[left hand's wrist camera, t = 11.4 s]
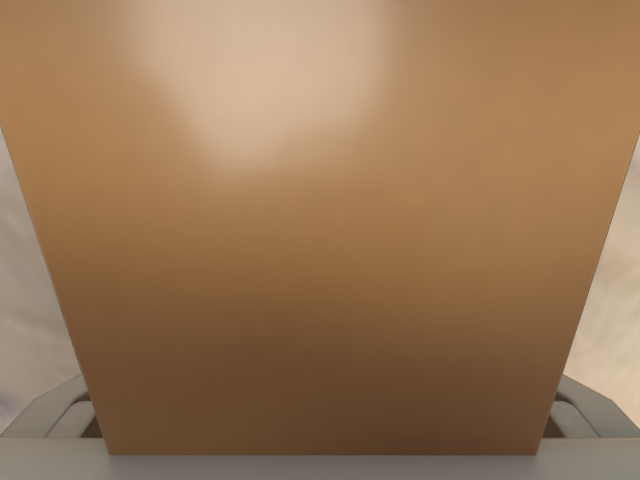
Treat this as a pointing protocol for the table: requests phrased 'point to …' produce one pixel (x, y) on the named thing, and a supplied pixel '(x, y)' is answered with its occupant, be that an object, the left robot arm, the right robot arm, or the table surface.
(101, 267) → the box
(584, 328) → the table surface
